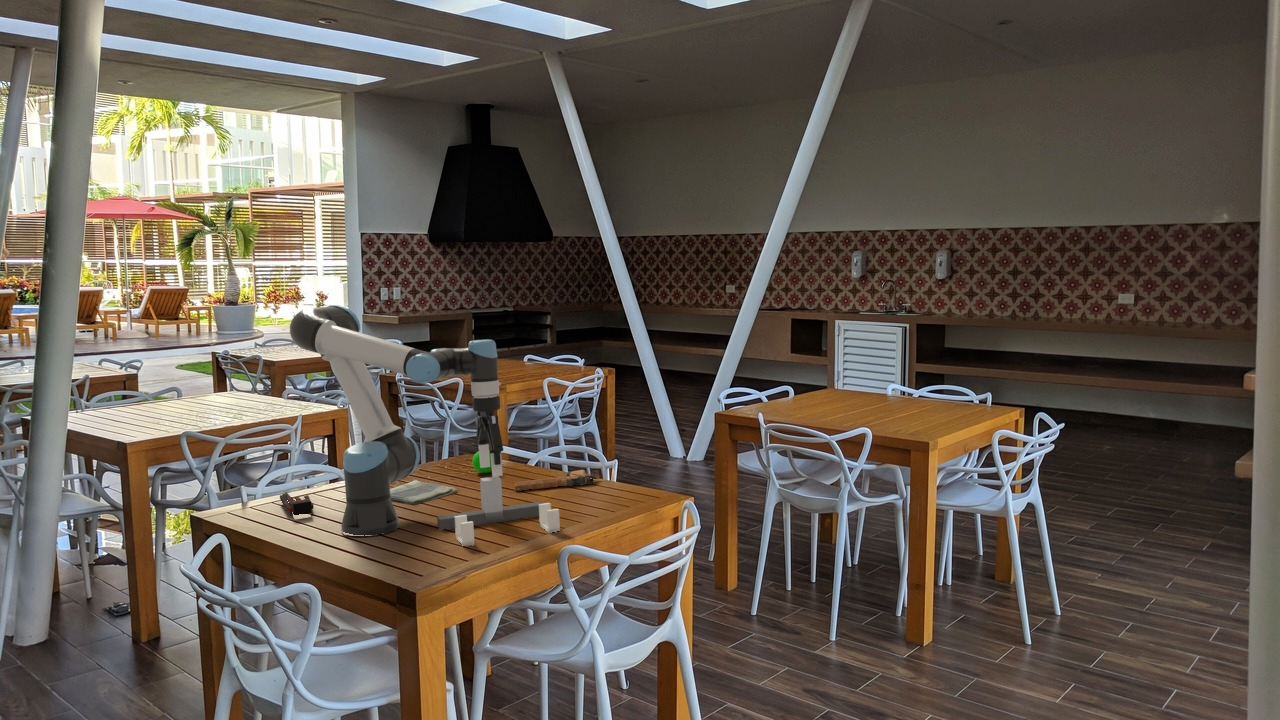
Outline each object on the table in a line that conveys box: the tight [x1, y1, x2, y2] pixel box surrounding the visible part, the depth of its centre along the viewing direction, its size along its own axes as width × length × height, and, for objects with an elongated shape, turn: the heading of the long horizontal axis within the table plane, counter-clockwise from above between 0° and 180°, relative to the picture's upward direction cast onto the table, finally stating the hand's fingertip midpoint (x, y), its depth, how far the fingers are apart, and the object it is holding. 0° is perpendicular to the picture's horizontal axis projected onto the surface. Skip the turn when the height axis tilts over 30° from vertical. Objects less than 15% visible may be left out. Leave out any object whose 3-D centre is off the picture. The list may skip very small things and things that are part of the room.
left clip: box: [454, 515, 475, 547], centre depth 241 cm, size 3×8×6 cm, turn 23°
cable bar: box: [436, 476, 544, 531], centre depth 260 cm, size 30×4×12 cm, turn 113°
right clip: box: [538, 502, 561, 534], centre depth 250 cm, size 3×8×6 cm, turn 23°
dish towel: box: [390, 479, 459, 506], centre depth 294 cm, size 19×18×3 cm
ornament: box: [472, 450, 492, 474], centre depth 321 cm, size 8×8×10 cm
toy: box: [279, 491, 314, 515], centre depth 284 cm, size 8×5×30 cm
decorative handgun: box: [514, 469, 600, 492], centre depth 302 cm, size 3×28×15 cm
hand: (491, 471), depth 259 cm, fingers open, 13 cm apart
